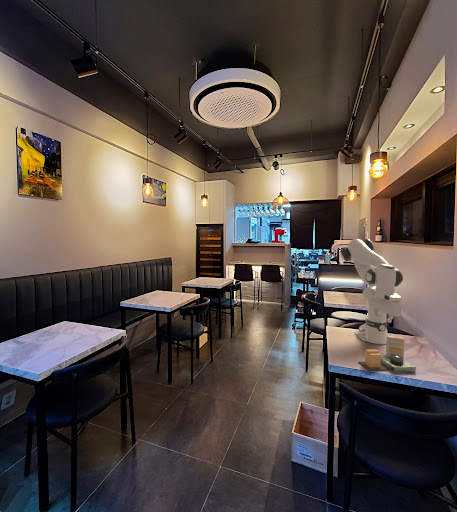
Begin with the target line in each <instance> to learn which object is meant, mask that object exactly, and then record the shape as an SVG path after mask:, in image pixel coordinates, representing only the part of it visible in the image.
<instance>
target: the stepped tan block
mask: <svg viewBox="0 0 457 512" xmlns="http://www.w3.org/2000/svg"><path fill="white" fill-rule="evenodd" d="M364 356H365V357H364V362H365V364H366V365H367V366H369V367H370V368H372V367H381V365H382V364H381V357H382V354H381V353H380V351H379V350H377V348H376V349H375V348H374V349H373V348H372V349H371V348H369V349H365V354H364Z"/></svg>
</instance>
